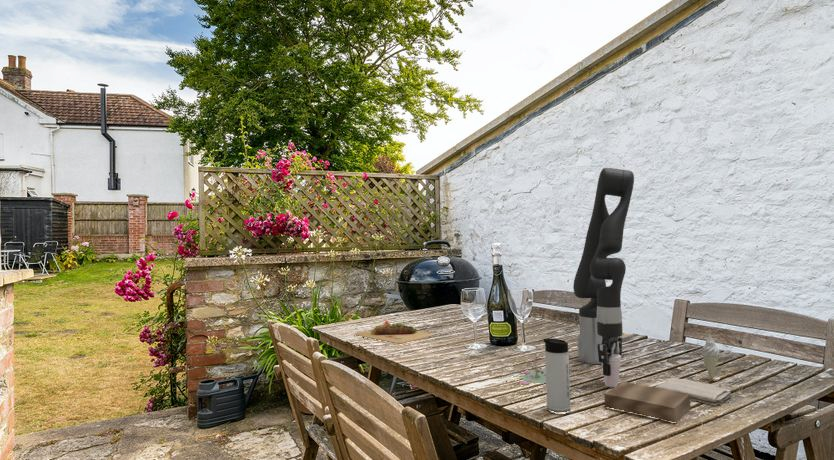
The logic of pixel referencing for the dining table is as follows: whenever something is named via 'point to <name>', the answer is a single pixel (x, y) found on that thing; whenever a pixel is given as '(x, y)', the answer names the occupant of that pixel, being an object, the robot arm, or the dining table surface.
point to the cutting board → (394, 333)
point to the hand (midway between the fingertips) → (611, 372)
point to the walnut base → (648, 401)
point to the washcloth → (697, 391)
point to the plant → (534, 374)
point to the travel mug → (557, 375)
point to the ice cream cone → (710, 356)
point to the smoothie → (613, 371)
